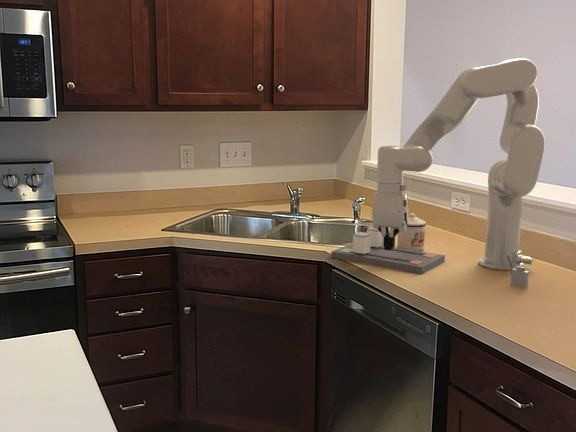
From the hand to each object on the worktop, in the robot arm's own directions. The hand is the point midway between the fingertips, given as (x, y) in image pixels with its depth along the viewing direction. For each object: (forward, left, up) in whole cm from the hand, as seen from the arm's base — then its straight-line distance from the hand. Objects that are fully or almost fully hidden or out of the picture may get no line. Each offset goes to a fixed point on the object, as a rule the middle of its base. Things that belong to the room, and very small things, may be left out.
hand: (389, 249), depth 195 cm
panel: (+3, -5, -5) cm, 7 cm away
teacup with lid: (+3, -24, -5) cm, 24 cm away
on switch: (+10, -10, -2) cm, 14 cm away
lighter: (-36, -2, -5) cm, 37 cm away
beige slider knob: (+9, 0, -2) cm, 9 cm away
